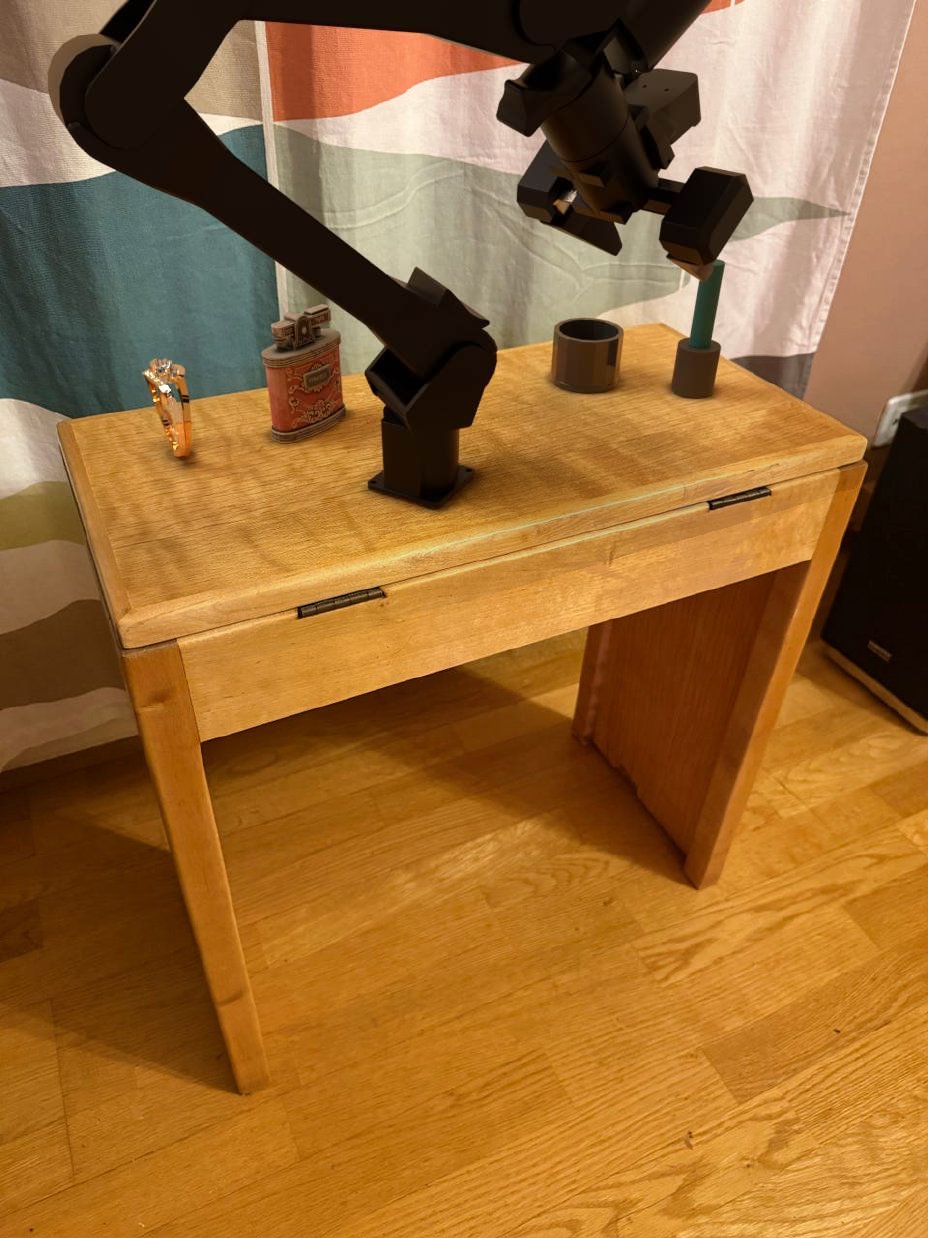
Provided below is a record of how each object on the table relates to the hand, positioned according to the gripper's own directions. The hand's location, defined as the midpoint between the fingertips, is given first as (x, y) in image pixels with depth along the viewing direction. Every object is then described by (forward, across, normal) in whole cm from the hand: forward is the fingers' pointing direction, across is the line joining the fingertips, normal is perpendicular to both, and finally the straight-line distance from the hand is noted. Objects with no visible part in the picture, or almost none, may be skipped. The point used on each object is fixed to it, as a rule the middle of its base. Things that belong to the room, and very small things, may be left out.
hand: (661, 263), depth 76 cm
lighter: (-7, +18, +27) cm, 33 cm away
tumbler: (+11, +8, +8) cm, 16 cm away
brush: (+15, 0, +4) cm, 16 cm away
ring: (-15, +20, +35) cm, 43 cm away
